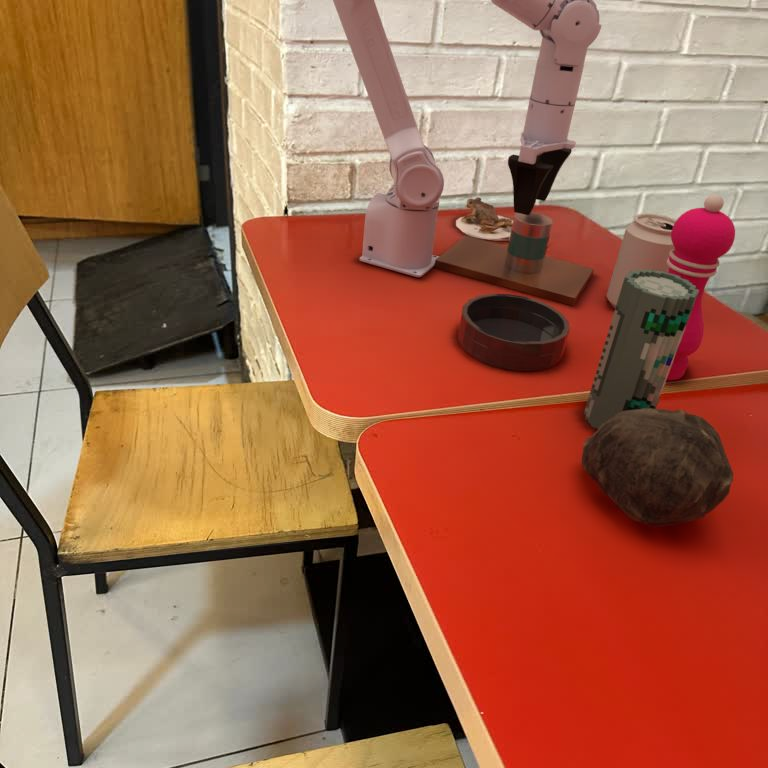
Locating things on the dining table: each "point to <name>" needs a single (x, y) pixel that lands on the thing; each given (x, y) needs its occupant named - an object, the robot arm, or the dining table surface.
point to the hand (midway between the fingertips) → (530, 205)
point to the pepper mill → (697, 265)
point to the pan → (513, 332)
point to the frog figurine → (484, 222)
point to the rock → (659, 465)
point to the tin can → (528, 242)
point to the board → (489, 266)
